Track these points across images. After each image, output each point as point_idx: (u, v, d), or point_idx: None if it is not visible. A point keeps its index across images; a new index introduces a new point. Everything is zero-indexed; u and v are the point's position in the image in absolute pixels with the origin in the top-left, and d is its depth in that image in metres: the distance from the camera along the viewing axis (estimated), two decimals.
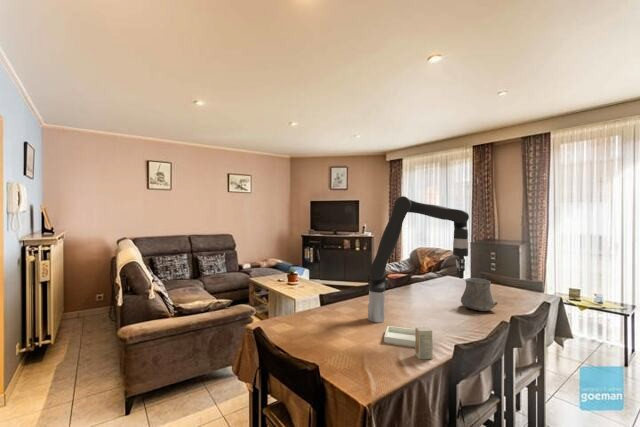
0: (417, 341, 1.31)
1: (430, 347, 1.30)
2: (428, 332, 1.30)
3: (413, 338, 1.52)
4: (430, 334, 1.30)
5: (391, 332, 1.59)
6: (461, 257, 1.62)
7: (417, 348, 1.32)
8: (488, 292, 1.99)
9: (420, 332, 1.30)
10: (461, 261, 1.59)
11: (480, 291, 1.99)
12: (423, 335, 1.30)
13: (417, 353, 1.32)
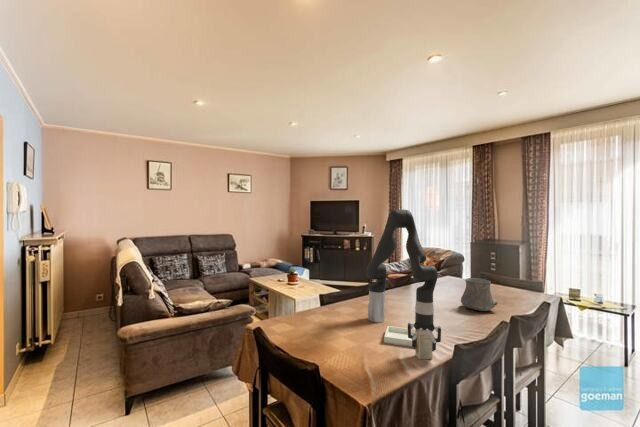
0: (417, 341, 1.31)
1: (430, 347, 1.30)
2: None
3: None
4: None
5: (391, 332, 1.59)
6: None
7: (417, 348, 1.32)
8: (488, 292, 1.99)
9: (420, 332, 1.30)
10: (440, 330, 1.30)
11: (480, 291, 1.99)
12: (423, 335, 1.30)
13: (417, 353, 1.32)
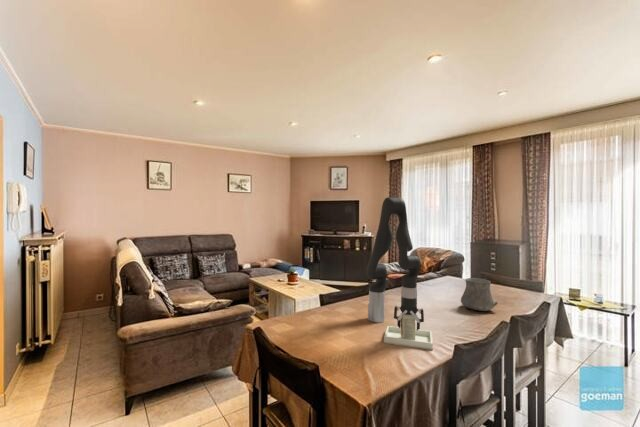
0: (402, 324, 1.50)
1: (413, 330, 1.49)
2: (411, 316, 1.49)
3: None
4: (413, 319, 1.49)
5: (391, 332, 1.59)
6: (416, 307, 1.50)
7: (402, 331, 1.50)
8: (488, 292, 1.99)
9: (404, 316, 1.49)
10: None
11: (480, 291, 1.99)
12: (407, 319, 1.49)
13: (402, 335, 1.50)
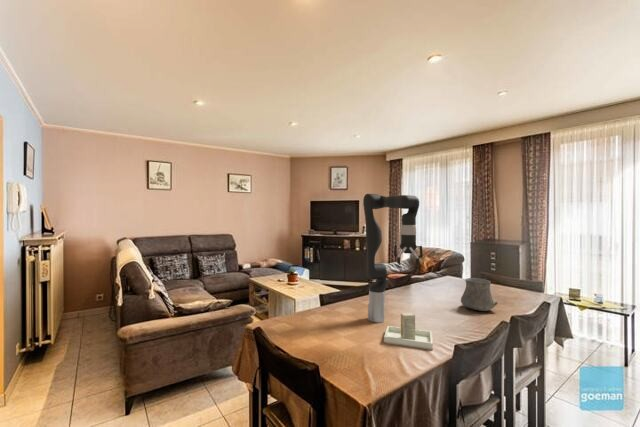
0: (402, 324, 1.50)
1: (413, 330, 1.49)
2: (411, 316, 1.49)
3: None
4: (413, 319, 1.49)
5: (391, 332, 1.59)
6: (415, 244, 1.56)
7: (402, 331, 1.50)
8: (488, 292, 1.99)
9: (404, 316, 1.49)
10: None
11: (480, 291, 1.99)
12: (407, 319, 1.49)
13: (402, 335, 1.50)
